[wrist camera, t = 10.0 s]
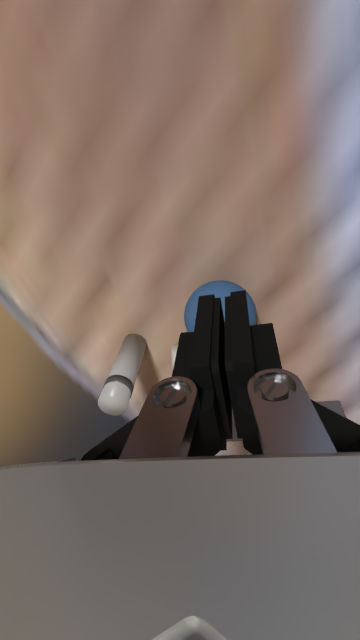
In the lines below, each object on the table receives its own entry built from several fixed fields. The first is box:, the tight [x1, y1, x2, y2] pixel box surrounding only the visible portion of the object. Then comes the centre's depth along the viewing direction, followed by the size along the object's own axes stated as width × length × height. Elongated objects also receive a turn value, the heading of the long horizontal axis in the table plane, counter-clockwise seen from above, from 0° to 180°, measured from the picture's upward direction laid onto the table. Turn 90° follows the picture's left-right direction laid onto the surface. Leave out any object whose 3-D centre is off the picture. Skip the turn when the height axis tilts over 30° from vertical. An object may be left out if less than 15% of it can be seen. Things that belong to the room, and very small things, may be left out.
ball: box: [184, 281, 256, 332], centre depth 29 cm, size 6×6×6 cm
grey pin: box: [98, 334, 147, 415], centre depth 31 cm, size 2×2×8 cm
